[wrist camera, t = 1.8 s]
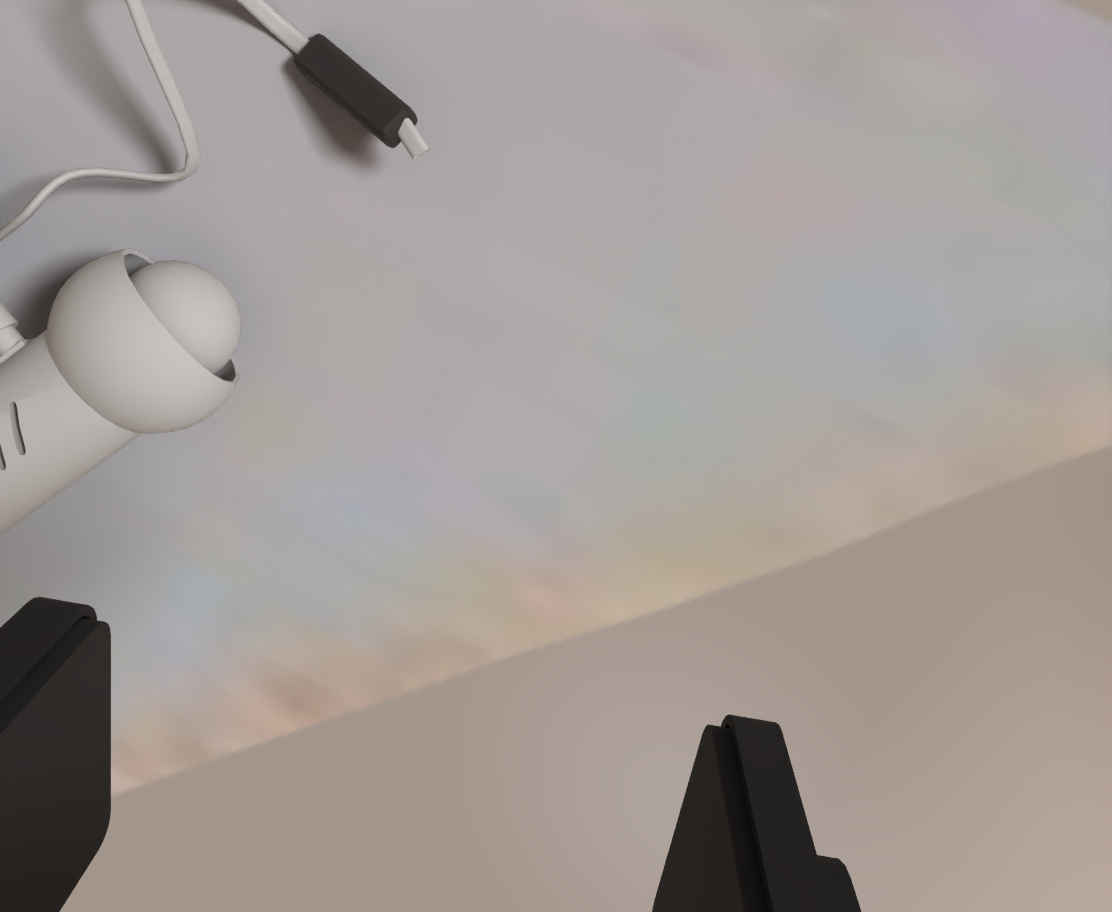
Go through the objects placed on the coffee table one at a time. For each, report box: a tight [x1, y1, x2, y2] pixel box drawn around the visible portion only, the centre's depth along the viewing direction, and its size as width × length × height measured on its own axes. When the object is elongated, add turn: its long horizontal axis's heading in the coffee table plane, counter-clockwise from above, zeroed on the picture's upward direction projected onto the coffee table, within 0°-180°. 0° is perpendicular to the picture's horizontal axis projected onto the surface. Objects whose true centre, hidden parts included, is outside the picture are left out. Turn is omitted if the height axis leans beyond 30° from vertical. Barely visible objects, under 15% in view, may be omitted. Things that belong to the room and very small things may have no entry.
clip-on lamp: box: [0, 0, 429, 535], centre depth 26 cm, size 12×6×18 cm
